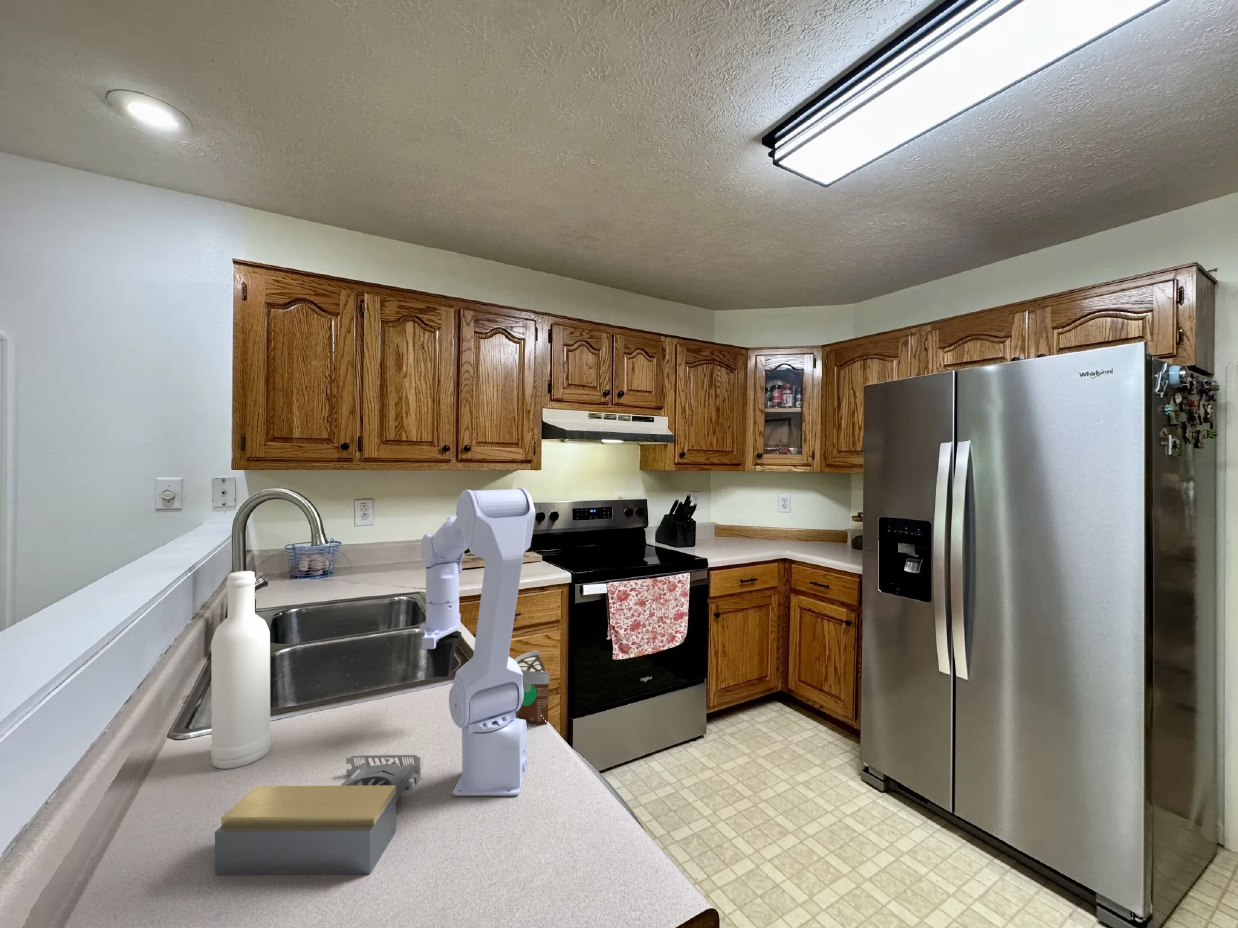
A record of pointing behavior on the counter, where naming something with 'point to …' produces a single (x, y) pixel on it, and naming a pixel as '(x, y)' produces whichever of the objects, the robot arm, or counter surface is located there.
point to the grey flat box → (306, 830)
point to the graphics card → (386, 773)
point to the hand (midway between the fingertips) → (443, 675)
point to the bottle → (240, 679)
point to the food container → (533, 689)
